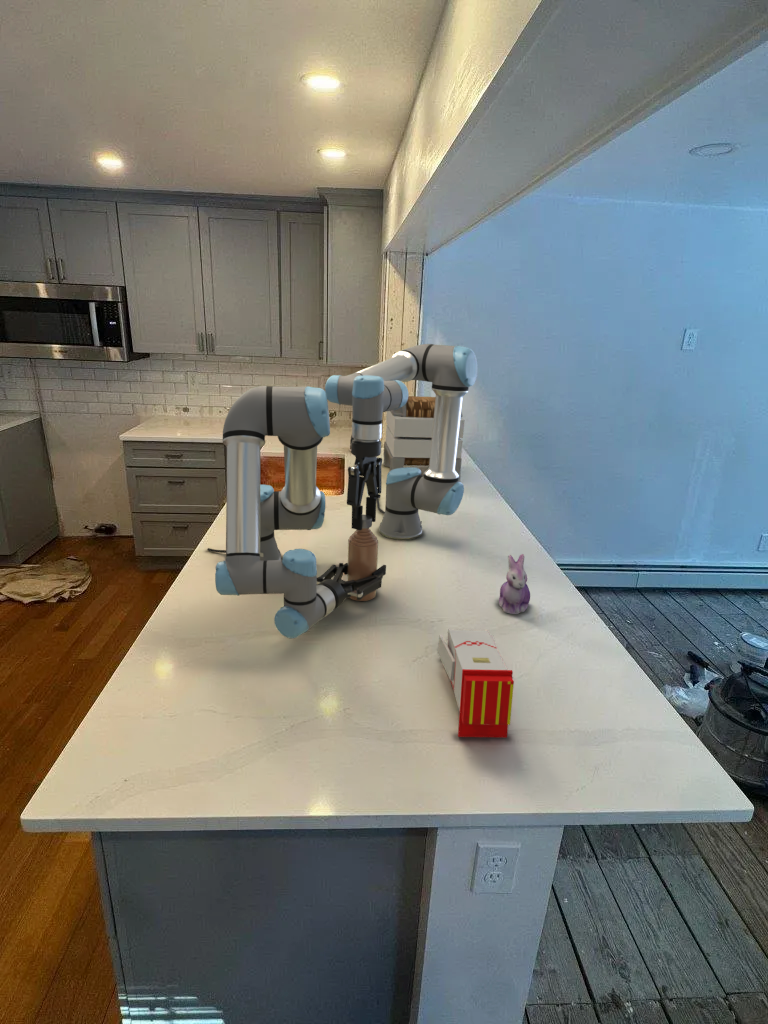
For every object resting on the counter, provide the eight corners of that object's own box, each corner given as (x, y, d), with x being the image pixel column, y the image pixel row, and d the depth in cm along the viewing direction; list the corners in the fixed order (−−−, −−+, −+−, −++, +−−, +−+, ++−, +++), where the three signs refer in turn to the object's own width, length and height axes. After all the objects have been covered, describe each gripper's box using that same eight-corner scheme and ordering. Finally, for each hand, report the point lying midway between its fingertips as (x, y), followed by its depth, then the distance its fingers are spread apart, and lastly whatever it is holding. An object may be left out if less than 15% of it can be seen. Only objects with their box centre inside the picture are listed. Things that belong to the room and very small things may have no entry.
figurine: (512, 619, 147) (519, 566, 142) (488, 601, 156) (494, 551, 151) (540, 611, 151) (548, 560, 146) (515, 594, 160) (522, 546, 155)
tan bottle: (348, 601, 153) (349, 525, 145) (345, 587, 160) (347, 514, 153) (377, 600, 154) (380, 524, 146) (374, 586, 161) (377, 514, 154)
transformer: (382, 463, 289) (386, 382, 275) (445, 464, 293) (451, 384, 279) (390, 482, 257) (394, 392, 243) (460, 483, 261) (468, 394, 247)
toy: (488, 613, 130) (523, 677, 101) (484, 667, 133) (517, 744, 104) (435, 612, 130) (455, 676, 101) (432, 666, 133) (451, 743, 103)
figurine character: (361, 456, 307) (362, 446, 320) (362, 442, 303) (362, 433, 317) (349, 455, 306) (350, 446, 320) (349, 442, 303) (350, 433, 316)
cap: (364, 521, 153) (364, 513, 152) (375, 526, 150) (375, 517, 149) (352, 525, 150) (352, 516, 149) (363, 529, 147) (363, 521, 146)
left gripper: (290, 600, 146) (339, 568, 165) (360, 623, 136) (403, 587, 155) (290, 574, 143) (340, 544, 162) (361, 596, 134) (404, 562, 153)
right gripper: (372, 430, 152) (369, 511, 160) (332, 443, 136) (331, 533, 144) (397, 434, 149) (393, 517, 156) (359, 448, 132) (356, 539, 140)
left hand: (371, 565), depth 159 cm, fingers closed on tan bottle, 8 cm apart
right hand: (363, 524), depth 150 cm, fingers open, 6 cm apart
